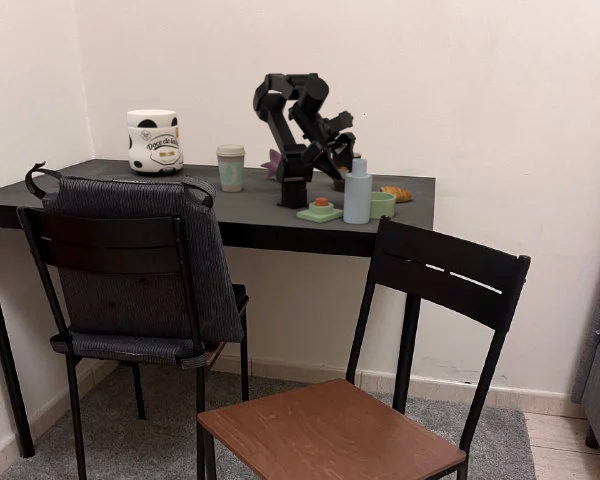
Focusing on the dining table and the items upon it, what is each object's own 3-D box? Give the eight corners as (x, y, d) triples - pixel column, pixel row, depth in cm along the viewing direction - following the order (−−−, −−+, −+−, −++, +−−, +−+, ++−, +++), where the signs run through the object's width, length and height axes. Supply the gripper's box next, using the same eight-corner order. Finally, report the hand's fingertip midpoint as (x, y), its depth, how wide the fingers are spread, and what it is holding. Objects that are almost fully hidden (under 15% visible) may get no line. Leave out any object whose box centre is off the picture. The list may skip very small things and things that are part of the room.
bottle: (338, 220, 154) (341, 159, 147) (353, 216, 159) (357, 156, 151) (358, 225, 151) (363, 163, 143) (374, 220, 155) (378, 159, 147)
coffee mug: (365, 189, 184) (367, 154, 179) (346, 194, 179) (348, 158, 174) (335, 183, 191) (336, 149, 186) (317, 187, 186) (317, 152, 180)
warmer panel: (296, 217, 157) (296, 205, 155) (321, 210, 163) (321, 198, 162) (320, 223, 152) (321, 210, 151) (345, 215, 159) (345, 203, 157)
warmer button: (312, 206, 156) (312, 198, 155) (320, 203, 158) (320, 196, 157) (322, 208, 154) (322, 201, 154) (330, 205, 157) (330, 198, 156)
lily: (307, 184, 194) (302, 153, 193) (294, 175, 183) (289, 143, 182) (272, 194, 198) (267, 164, 198) (257, 185, 187) (252, 154, 187)
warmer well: (348, 213, 160) (349, 196, 158) (370, 206, 167) (371, 189, 165) (380, 221, 155) (381, 202, 152) (401, 213, 161) (403, 196, 159)
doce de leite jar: (169, 179, 192) (164, 116, 182) (120, 175, 196) (112, 113, 186) (193, 169, 206) (189, 110, 197) (146, 166, 210) (140, 108, 201)
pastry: (406, 197, 177) (408, 183, 175) (414, 202, 172) (416, 188, 170) (375, 197, 176) (376, 184, 174) (382, 204, 170) (383, 189, 168)
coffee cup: (211, 189, 181) (209, 146, 175) (233, 185, 187) (231, 143, 180) (231, 194, 176) (229, 150, 170) (252, 190, 182) (251, 146, 175)
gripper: (313, 102, 137) (355, 160, 138) (351, 96, 151) (388, 148, 152) (283, 137, 144) (323, 191, 145) (322, 128, 158) (357, 177, 159)
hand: (349, 176), depth 150 cm, fingers open, 9 cm apart
